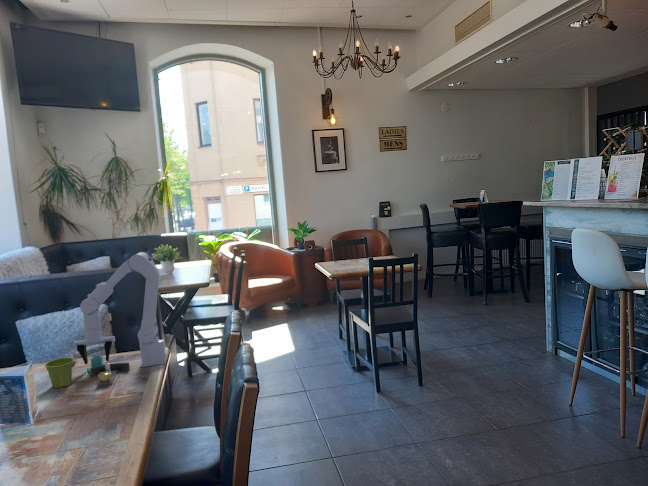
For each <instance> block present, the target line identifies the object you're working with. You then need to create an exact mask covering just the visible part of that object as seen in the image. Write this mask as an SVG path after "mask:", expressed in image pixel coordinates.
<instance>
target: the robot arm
mask: <svg viewBox="0 0 648 486" xmlns="http://www.w3.org/2000/svg"><path fill="white" fill-rule="evenodd" d="M132 272H137V273H139V274H140V275H142V276H143V277H144V278H145V287H144V298H143V310H142V311H143V312H142V319H141V324H140V329H139V330H138V332H137V339H138V342H139V351H140V358H141V359H140V360H141V361H140V364H139V367H140V368H144V367H145V368H146V367H150V366H157V365H164V364H166V362H167V352H166V344H165V339H164V338H163V339H160V338H159V337H158V335H157V334H158V332H159V326H158V324H157V321H158V320H157V317H156V316H157V306H158V305H157V303H158V296H159V295H158V294H159V286H160V285H159V283H160V272H159V269H158V267H157V266H156V264H155V261H154V259H153V257H152V256H151V255H150V254H148V253H147V252H144V251H139V252H136V254H134V255H131V257H130V258H129V259H127V260H126V261H124V262H123V263H122V264H121V265H120V266H119V267H118V269H117V270H115V272H114V273H113V274H112V275H111V276H110V278H109V279H107V281H103V282H102V281H101V282H100V283H97V284H95V286H94V287H95V288H94V290H92V292H91V293H88V294H87V295H86V297H87V298H85V299H83V300H82V301H81V303H80V306H79V308H80V312H82V315H83V326H84V334H85V338H84V339H80V340H74V341H73V348H76V352H79V353H80V354H79V355H80V356H81V358H82V360H83V362H84V365H87V364H88V363H89V359H88V354H87V346H89V345H90V346H91V345H100V344H104V345H103V347H104V352H105V361H106V362H109V361H110V353H111V348H112V345H113V343H115V342H116V336H115V335H112V336H110V335H108V336H103V331H102V325H101V323H102V322H101V315H100V308H101V305H103V304H104V303H105V301H106V300H107V299H109V297H110V296H111V295H112V294H113V293H114V287H115V285H117V284H118V283H119V282H120V281H121V280H122V279H123V278H124V277H125V276H126V275H127V274H128V273H132Z"/></svg>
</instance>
